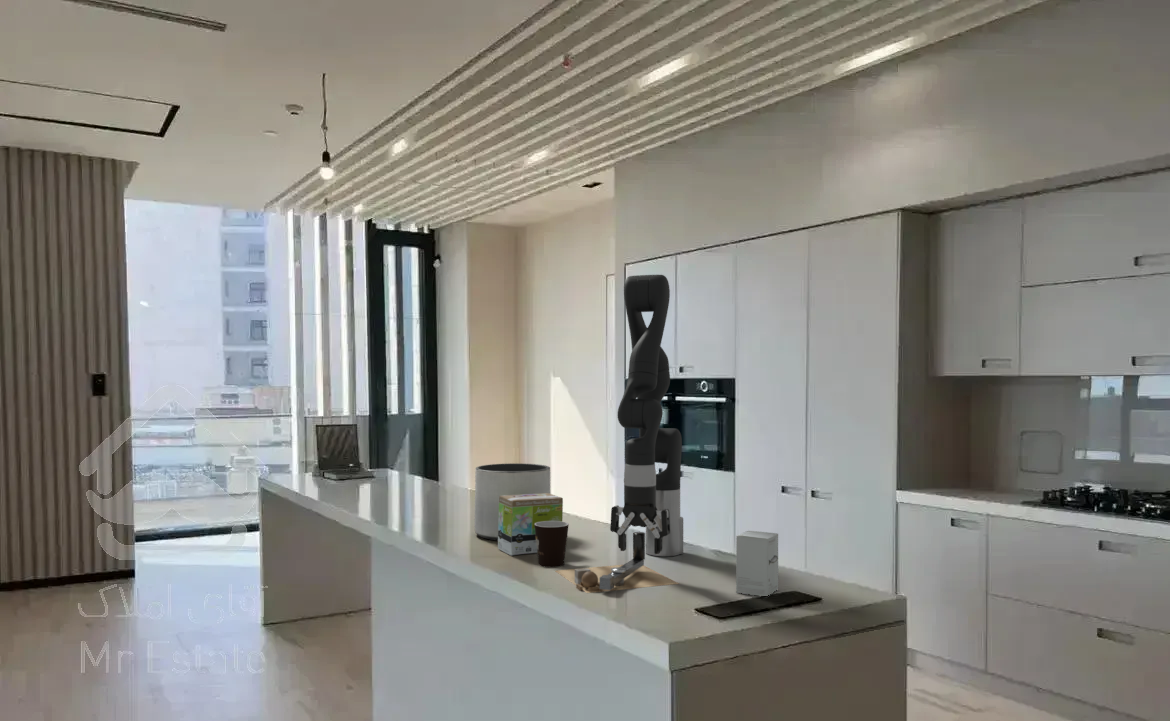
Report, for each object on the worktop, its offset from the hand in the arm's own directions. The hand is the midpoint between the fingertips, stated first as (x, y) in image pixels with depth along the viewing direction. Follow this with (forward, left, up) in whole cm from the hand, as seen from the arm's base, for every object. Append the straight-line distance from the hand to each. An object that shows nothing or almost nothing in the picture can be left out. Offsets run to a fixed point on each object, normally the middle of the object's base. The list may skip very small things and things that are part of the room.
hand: (640, 551), depth 192 cm
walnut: (+17, +10, -4) cm, 20 cm away
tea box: (+16, -36, -6) cm, 40 cm away
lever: (+7, +7, -4) cm, 11 cm away
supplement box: (-18, +22, -6) cm, 29 cm away
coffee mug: (+15, -20, -6) cm, 26 cm away
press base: (+8, +3, -6) cm, 11 cm away
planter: (+14, -59, -6) cm, 61 cm away
